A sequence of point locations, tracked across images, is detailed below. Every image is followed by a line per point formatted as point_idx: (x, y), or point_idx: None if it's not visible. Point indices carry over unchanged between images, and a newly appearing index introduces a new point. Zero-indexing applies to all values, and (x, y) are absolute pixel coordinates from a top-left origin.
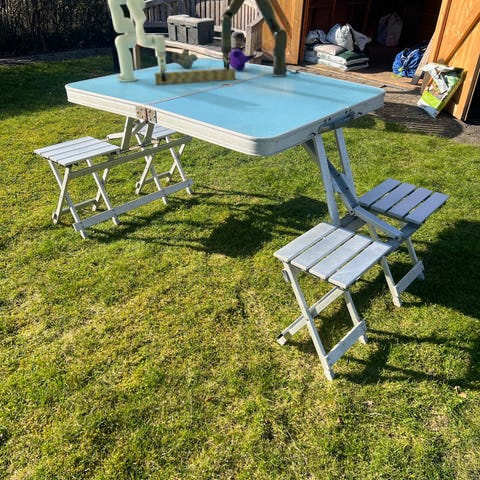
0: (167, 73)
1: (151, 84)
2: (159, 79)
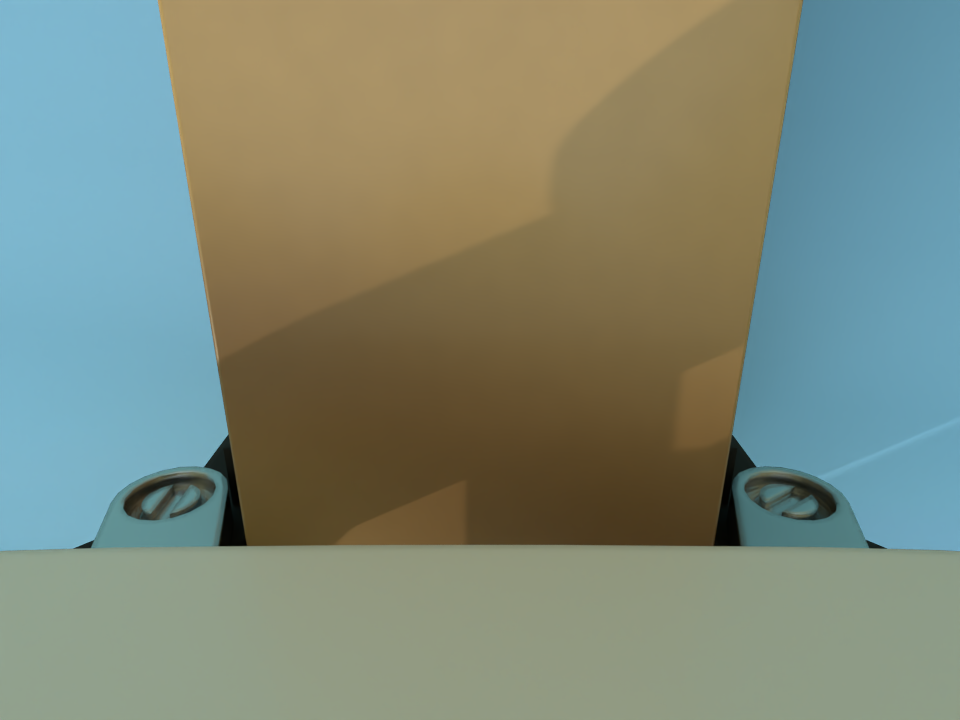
0: (738, 361)
1: None
2: None
